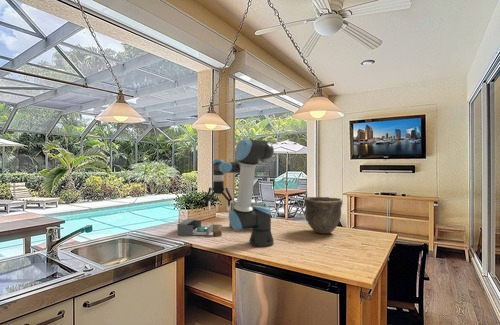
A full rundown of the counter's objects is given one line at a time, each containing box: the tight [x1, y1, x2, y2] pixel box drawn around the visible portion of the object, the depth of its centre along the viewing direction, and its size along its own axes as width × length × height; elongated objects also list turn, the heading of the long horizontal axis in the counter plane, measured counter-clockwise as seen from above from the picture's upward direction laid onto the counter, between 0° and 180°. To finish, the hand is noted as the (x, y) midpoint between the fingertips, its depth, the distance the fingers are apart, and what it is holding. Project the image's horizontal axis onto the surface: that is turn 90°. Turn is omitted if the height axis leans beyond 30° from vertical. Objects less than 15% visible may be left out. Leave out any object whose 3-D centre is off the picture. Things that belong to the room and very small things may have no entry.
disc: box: [197, 225, 209, 232], centre depth 197 cm, size 8×8×2 cm
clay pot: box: [304, 196, 343, 235], centre depth 197 cm, size 26×26×25 cm
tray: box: [193, 222, 215, 236], centre depth 197 cm, size 17×12×5 cm
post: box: [212, 223, 223, 238], centre depth 190 cm, size 6×6×7 cm
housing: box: [176, 218, 202, 237], centre depth 198 cm, size 19×13×8 cm
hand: (218, 210), depth 197 cm, fingers open, 13 cm apart
